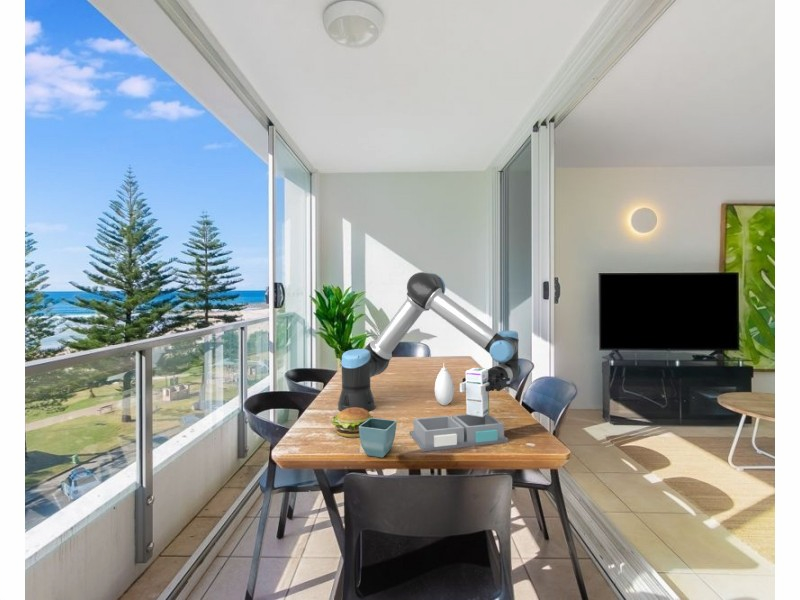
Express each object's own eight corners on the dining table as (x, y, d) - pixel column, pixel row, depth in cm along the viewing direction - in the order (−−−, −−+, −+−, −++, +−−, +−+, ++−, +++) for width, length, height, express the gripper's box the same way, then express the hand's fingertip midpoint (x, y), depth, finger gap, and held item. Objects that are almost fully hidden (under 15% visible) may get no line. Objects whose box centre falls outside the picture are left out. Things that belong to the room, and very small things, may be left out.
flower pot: (397, 449, 118) (397, 420, 118) (387, 461, 110) (386, 429, 110) (370, 446, 121) (370, 417, 121) (358, 457, 113) (358, 426, 113)
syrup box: (483, 417, 124) (482, 371, 124) (465, 414, 128) (465, 370, 127) (489, 412, 129) (488, 368, 129) (472, 410, 132) (471, 367, 132)
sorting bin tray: (422, 451, 117) (422, 433, 117) (409, 434, 131) (409, 417, 131) (508, 442, 123) (508, 424, 123) (486, 426, 138) (486, 410, 138)
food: (324, 431, 135) (324, 408, 135) (359, 423, 143) (359, 401, 143) (344, 443, 124) (344, 418, 124) (381, 433, 132) (381, 409, 132)
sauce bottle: (431, 404, 166) (430, 361, 165) (444, 401, 170) (444, 359, 170) (443, 408, 159) (443, 364, 159) (457, 405, 164) (457, 362, 164)
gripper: (524, 390, 137) (499, 405, 119) (474, 383, 148) (444, 397, 130) (524, 368, 137) (498, 381, 119) (474, 363, 148) (443, 374, 130)
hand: (470, 389), depth 124 cm, fingers closed on syrup box, 6 cm apart
